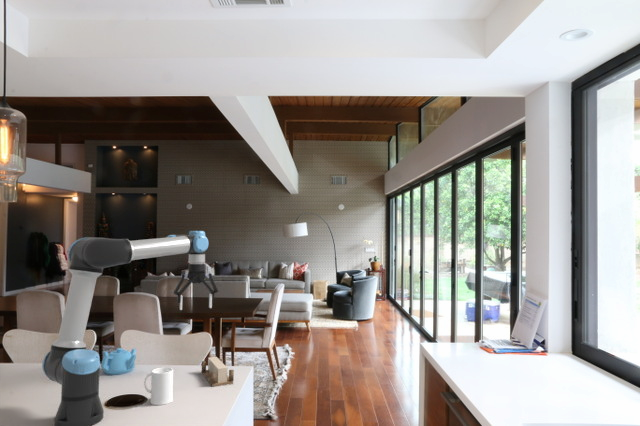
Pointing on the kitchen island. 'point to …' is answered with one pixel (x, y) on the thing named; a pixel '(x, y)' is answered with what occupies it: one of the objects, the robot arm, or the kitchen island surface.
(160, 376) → the mug
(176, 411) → the kitchen island surface
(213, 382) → the rack
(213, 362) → the beige long block
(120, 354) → the teapot
